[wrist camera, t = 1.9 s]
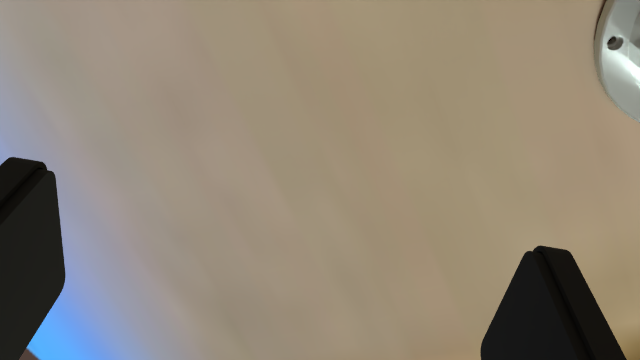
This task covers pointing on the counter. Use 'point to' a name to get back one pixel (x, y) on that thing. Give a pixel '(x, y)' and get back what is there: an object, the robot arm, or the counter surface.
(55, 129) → the counter surface
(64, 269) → the robot arm
